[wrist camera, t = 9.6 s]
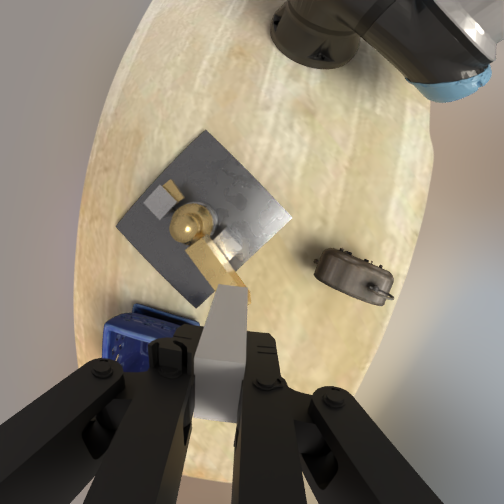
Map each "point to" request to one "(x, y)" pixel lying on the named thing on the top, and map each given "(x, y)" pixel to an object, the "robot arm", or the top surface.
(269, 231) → the socket
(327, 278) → the alarm clock
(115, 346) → the flower pot
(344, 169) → the top surface
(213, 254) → the lever handle
